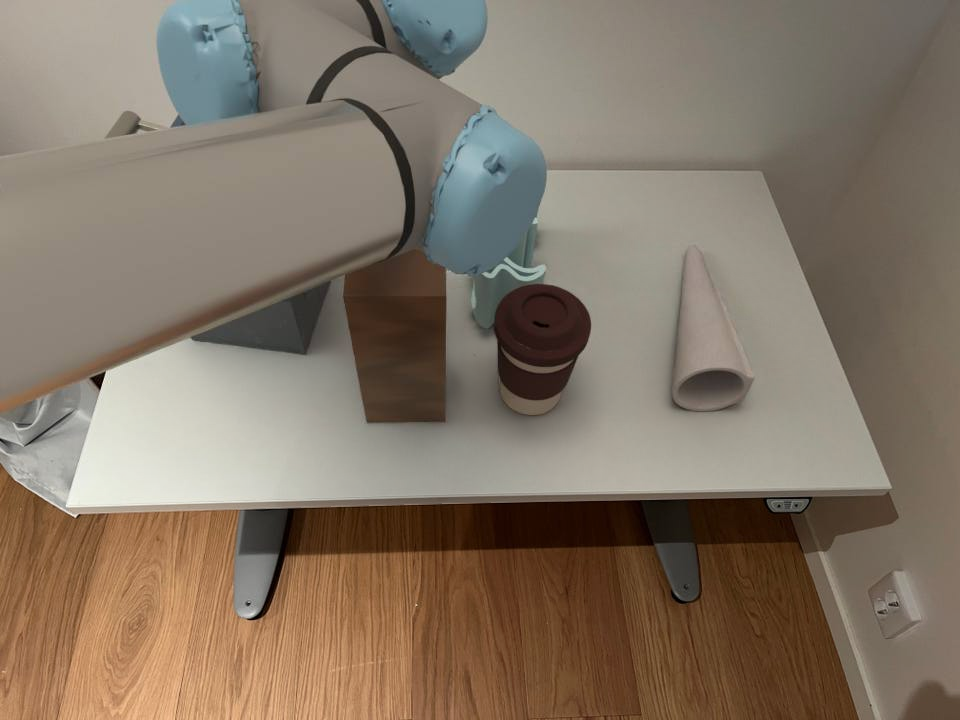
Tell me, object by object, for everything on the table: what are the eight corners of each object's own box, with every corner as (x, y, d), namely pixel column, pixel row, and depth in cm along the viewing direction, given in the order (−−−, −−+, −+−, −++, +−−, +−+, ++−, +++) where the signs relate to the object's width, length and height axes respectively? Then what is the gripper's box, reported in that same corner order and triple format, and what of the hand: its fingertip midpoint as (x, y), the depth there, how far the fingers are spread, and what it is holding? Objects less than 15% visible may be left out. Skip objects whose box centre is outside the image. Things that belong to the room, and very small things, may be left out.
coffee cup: (532, 343, 84) (547, 258, 72) (589, 396, 80) (614, 316, 68) (470, 384, 81) (475, 302, 68) (526, 442, 76) (542, 366, 64)
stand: (366, 423, 77) (342, 296, 59) (370, 358, 82) (349, 223, 64) (446, 422, 77) (446, 295, 60) (445, 357, 83) (445, 223, 65)
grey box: (336, 266, 90) (325, 211, 82) (305, 355, 82) (290, 302, 74) (232, 254, 91) (212, 197, 83) (192, 340, 83) (164, 286, 75)
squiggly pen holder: (462, 231, 95) (464, 178, 88) (532, 228, 96) (539, 176, 89) (474, 333, 85) (477, 283, 77) (552, 329, 86) (563, 279, 78)
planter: (642, 222, 91) (681, 366, 74) (707, 223, 92) (760, 367, 74) (632, 267, 97) (665, 411, 80) (692, 268, 97) (739, 411, 80)
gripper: (280, 205, 49) (184, 269, 67) (431, 73, 59) (312, 159, 77) (203, 116, 46) (123, 208, 64) (375, -7, 56) (266, 101, 74)
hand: (227, 181), depth 70 cm, fingers closed on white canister, 7 cm apart
